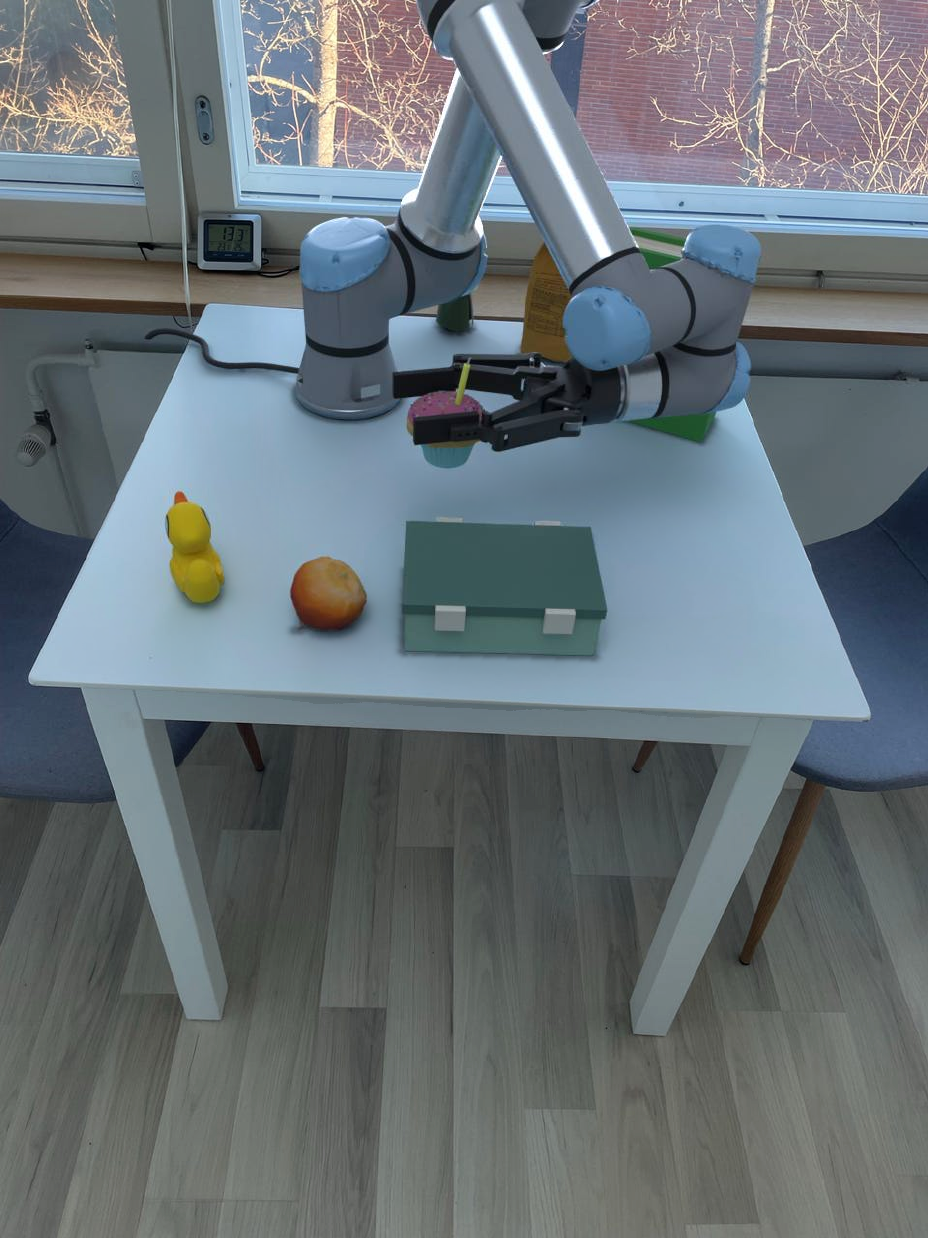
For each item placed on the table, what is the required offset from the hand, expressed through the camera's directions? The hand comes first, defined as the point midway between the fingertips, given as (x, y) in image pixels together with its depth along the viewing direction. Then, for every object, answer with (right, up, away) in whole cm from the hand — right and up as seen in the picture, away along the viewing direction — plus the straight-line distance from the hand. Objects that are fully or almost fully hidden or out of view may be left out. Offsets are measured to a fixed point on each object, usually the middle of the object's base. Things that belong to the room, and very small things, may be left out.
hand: (403, 407), depth 89 cm
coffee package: (+21, +23, +55) cm, 63 cm away
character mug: (+5, +28, +59) cm, 65 cm away
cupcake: (+4, -4, +6) cm, 8 cm away
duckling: (-23, -18, +9) cm, 31 cm away
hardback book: (+34, +9, +41) cm, 54 cm away
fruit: (-8, -21, +6) cm, 24 cm away
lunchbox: (+10, -21, +9) cm, 24 cm away
